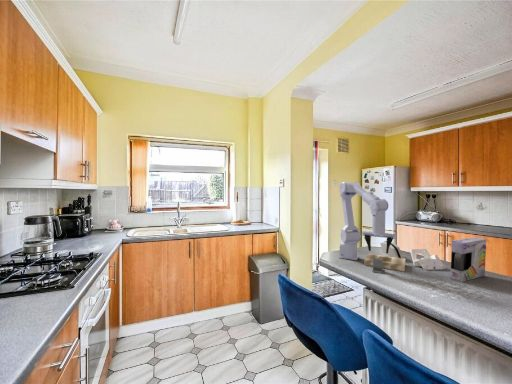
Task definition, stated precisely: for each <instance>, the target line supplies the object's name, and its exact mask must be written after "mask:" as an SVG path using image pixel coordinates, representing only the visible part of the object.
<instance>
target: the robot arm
mask: <svg viewBox="0 0 512 384" xmlns="http://www.w3.org/2000/svg"><path fill="white" fill-rule="evenodd" d="M356 195H358V196H360V197H362V201H363V202H364V203H366V204H367V205H368V206H369V209H370V214H371V221H372V222H371V223H372V224H371V225H372V226H371V231H366V230H365V231H364V230H363V231H362V232H361V231H360V229H359V228H358V227H357V226H356V225H355V219H354V212H353V203H352V198H353V197H355V196H356ZM339 197H340V199H341V204H342V212H343V213H342V214H343V220H344V226H343V227H342V228H341V229H340V231H341V232H340V239H341V241H340V242H339V258H340V259H344V260H352V261H357V260H358V259H359V258H360V256H359V255H358V244H359V242H360V241H361V238H362V236H364V237H363V238H364V240H365V242H366V244H367V245H366V246H367V249H368V252H371V249H372V245H371V244H372V243H371V241H372V237H375V238H385V239H386V241H387V249H386V253H388V250H389V247H390V244H391V242H393V240H396V238H397V237H396V233H388V232H386V211H388V209H389V203H388V201H387V200H386V199H384V198H380V197H379V196H377V195H376V194H374V192H372V191H367V190H366V189H365V188H363V187H362V186H361V183H359V181H358V182H357V181H355V182H353V181H350V182H349V181H346V182H345V181H343V182H341V183H340V185H339ZM360 232H361V233H362V235H361V233H360Z"/></svg>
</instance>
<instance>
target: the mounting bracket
mask: <svg viewBox="0 0 512 384" xmlns="http://www.w3.org/2000/svg"><path fill="white" fill-rule="evenodd" d="M409 252H410V257H411V260H412V264H413V266H414V267H422V269H423V270H425V271H426V270H427V271H428V270H431V271H432V270H433V271H434V270H435V271H436V270H439V271H440V270H445V269H446V265H444V263H443V261H442V260H441V259H440V257H439V256H438V254H433V255H431V254H430V252H429V251H428V250H427V248H426V249H425V248H424V249H423V248H417V249H416V248H415V249H413V248H411V249H410V250H409ZM418 254H421V255H422V256H423V257H421V258H417V257H418Z"/></svg>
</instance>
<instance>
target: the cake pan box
mask: <svg viewBox="0 0 512 384" xmlns="http://www.w3.org/2000/svg"><path fill="white" fill-rule="evenodd" d="M486 250H487V239H486V238H484V237H483V238H482V237H477V236H474V237H468V238H467V237H465V238H461V239H453V240H451V250H450V251H451V254H450V255H451V256H450V280H453V281H456V280H457V281H456V282H459V281H460V283H462V281H463V282H467V281H470V280H473V279H478V278H481V277H485V275H486V257H487V254H486V253H487V251H486ZM466 280H467V281H466Z"/></svg>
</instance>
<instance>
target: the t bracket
mask: <svg viewBox="0 0 512 384" xmlns="http://www.w3.org/2000/svg"><path fill="white" fill-rule="evenodd" d="M371 271H372V273H376V274H382V273H383V272H384V268H383V259H379V258H373V266H372V269H371Z"/></svg>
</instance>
